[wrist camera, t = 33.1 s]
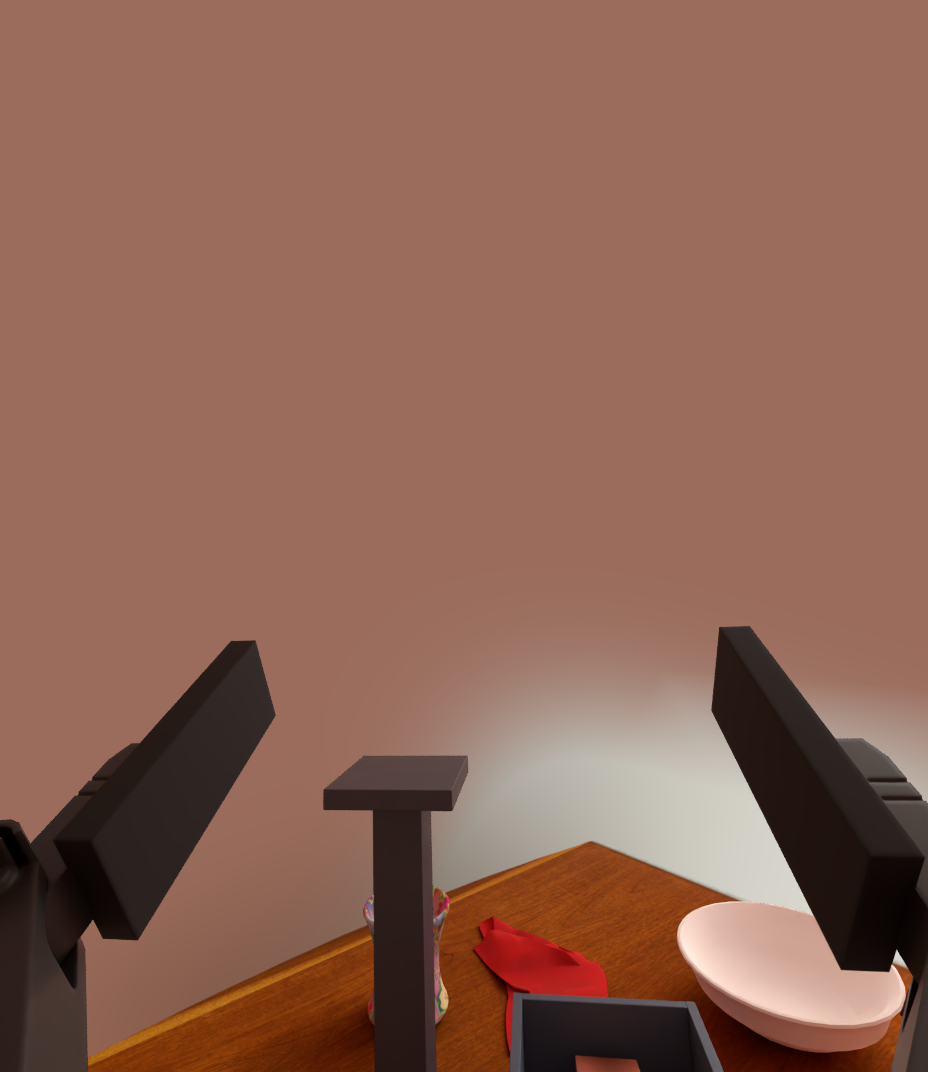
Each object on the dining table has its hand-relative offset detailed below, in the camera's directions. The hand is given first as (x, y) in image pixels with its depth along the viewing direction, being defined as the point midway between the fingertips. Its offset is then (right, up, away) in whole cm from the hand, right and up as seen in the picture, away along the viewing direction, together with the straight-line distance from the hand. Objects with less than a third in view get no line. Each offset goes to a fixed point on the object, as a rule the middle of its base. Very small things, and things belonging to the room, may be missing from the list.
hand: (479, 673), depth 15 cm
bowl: (+32, -45, +38) cm, 67 cm away
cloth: (+9, -47, +45) cm, 66 cm away
